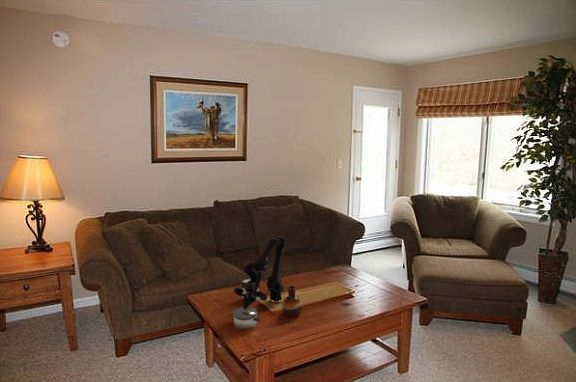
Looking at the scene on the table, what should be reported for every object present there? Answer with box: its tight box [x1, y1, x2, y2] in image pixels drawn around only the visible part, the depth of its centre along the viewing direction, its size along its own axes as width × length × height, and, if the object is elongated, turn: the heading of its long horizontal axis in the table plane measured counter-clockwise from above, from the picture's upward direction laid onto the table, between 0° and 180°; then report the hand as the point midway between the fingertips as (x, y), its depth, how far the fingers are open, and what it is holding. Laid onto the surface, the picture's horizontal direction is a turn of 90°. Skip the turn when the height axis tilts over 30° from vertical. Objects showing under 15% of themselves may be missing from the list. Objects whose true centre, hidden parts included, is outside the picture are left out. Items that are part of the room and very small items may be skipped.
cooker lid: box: [232, 306, 258, 319], centre depth 209 cm, size 13×13×2 cm
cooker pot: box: [230, 311, 261, 330], centre depth 209 cm, size 12×17×5 cm
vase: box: [281, 285, 303, 318], centre depth 218 cm, size 11×11×15 cm
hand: (244, 308), depth 208 cm, fingers closed
